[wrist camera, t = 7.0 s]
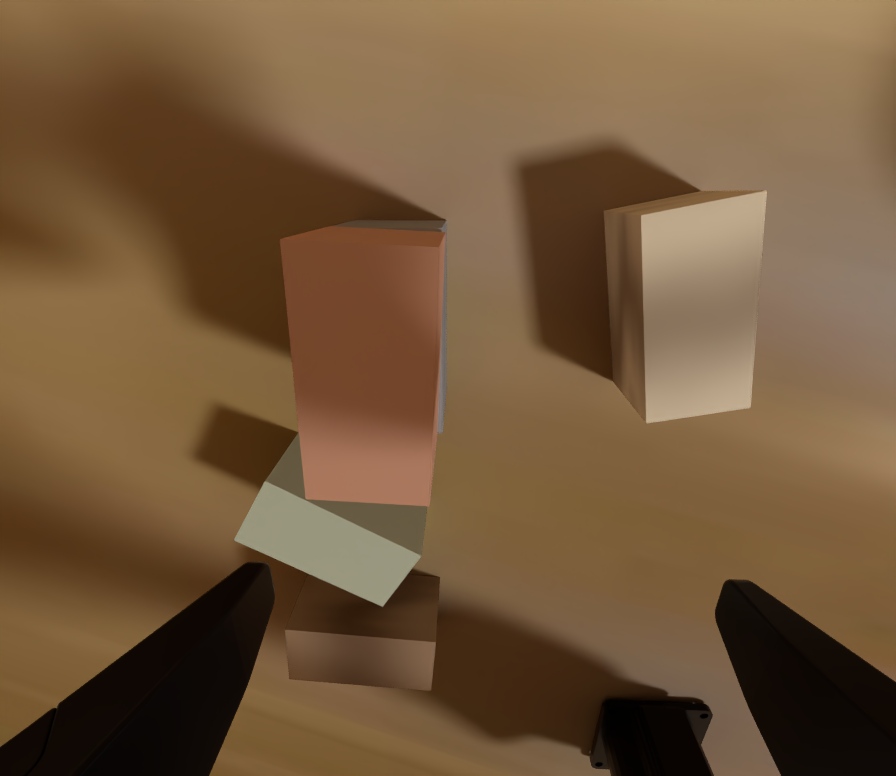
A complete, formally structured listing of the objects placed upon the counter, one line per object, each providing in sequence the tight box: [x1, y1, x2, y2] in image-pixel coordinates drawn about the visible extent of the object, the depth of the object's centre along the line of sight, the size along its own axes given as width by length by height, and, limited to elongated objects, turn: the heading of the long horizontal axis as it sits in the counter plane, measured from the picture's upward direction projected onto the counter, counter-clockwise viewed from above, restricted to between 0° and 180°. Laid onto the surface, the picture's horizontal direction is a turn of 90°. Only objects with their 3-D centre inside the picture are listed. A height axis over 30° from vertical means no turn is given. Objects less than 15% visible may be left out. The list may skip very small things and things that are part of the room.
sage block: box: [234, 432, 427, 607], centre depth 21 cm, size 7×4×4 cm, turn 59°
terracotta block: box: [280, 226, 446, 506], centre depth 13 cm, size 7×4×4 cm, turn 177°
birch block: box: [604, 190, 767, 423], centre depth 16 cm, size 7×4×4 cm, turn 11°
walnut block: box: [285, 574, 440, 691], centre depth 23 cm, size 7×4×4 cm, turn 85°
